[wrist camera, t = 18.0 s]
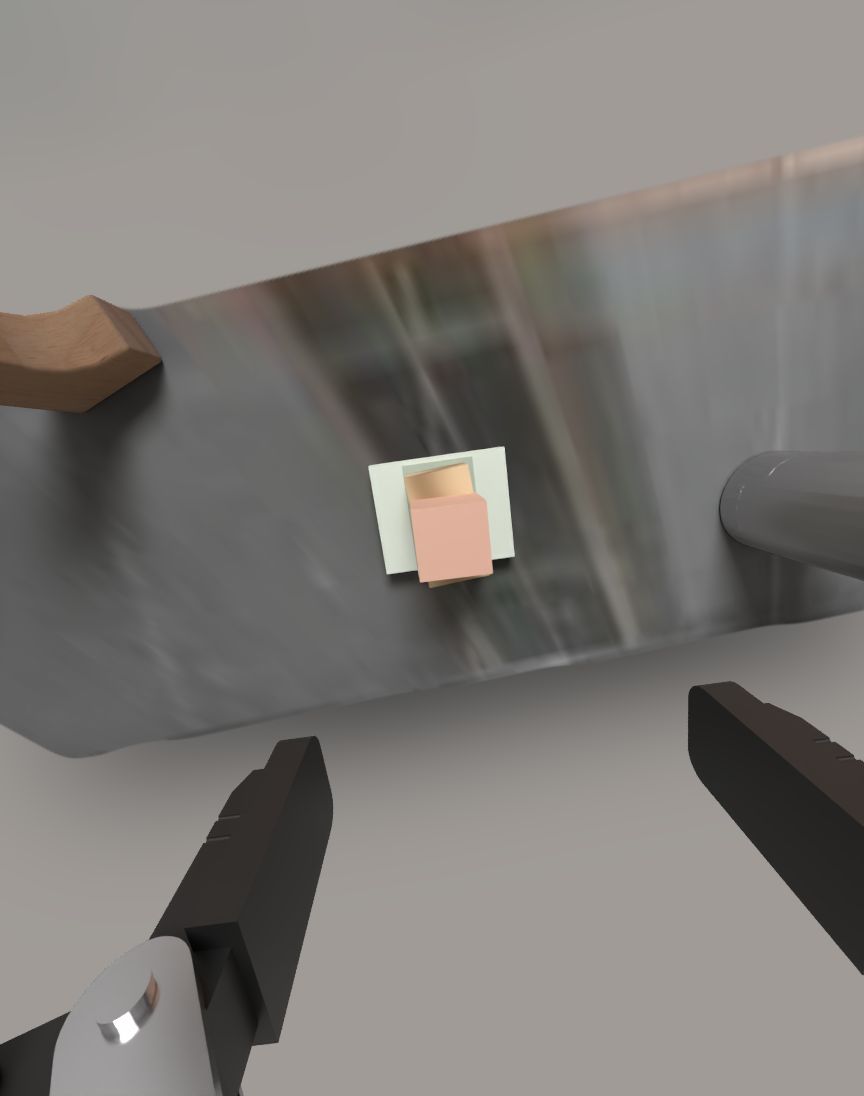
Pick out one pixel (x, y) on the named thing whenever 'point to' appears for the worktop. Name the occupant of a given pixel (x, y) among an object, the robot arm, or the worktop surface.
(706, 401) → the worktop surface
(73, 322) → the wooden block
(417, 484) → the tan rectangular block
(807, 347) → the worktop surface
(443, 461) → the pad
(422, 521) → the cube
